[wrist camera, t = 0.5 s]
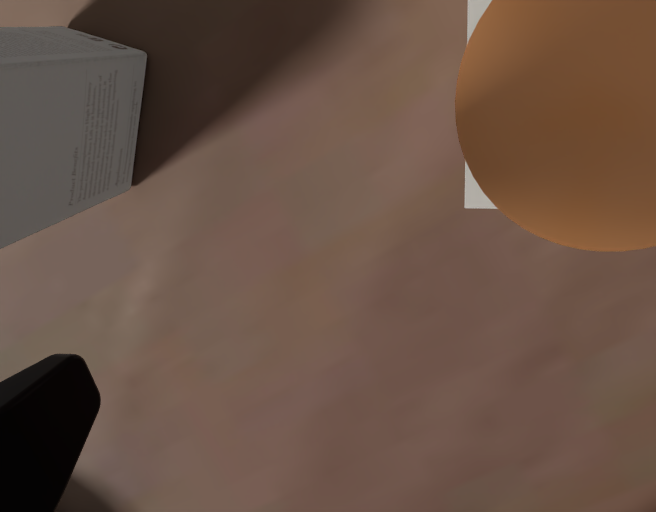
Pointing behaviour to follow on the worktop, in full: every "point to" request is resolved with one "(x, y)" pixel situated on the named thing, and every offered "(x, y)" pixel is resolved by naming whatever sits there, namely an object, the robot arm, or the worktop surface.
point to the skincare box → (64, 124)
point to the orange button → (564, 118)
